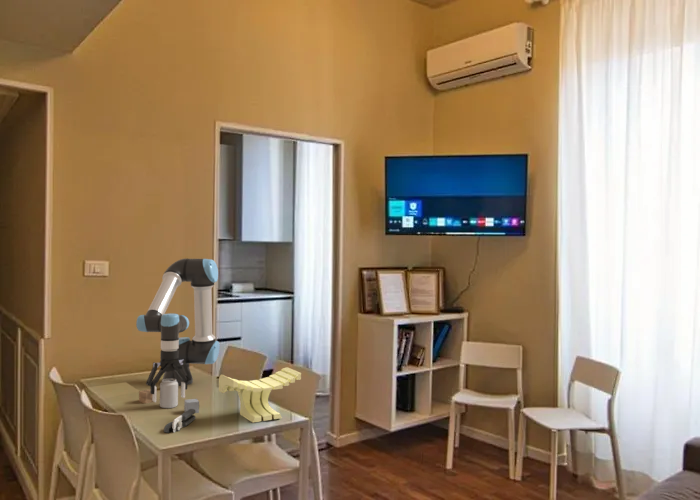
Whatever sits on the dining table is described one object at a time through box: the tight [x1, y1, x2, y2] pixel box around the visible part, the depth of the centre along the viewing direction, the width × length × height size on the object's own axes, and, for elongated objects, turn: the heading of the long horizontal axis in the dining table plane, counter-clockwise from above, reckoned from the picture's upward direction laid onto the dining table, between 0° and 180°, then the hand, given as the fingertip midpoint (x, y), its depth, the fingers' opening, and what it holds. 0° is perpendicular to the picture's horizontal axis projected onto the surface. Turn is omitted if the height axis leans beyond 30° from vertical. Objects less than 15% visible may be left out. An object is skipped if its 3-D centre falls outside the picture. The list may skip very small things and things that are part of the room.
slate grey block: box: [183, 398, 200, 414], centre depth 254 cm, size 5×5×5 cm
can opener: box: [163, 409, 197, 434], centre depth 235 cm, size 19×6×5 cm, turn 169°
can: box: [159, 378, 179, 409], centre depth 261 cm, size 8×8×12 cm
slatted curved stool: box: [218, 366, 302, 423], centre depth 251 cm, size 30×16×18 cm, turn 123°
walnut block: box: [138, 389, 155, 404], centre depth 268 cm, size 5×5×5 cm
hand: (168, 399), depth 261 cm, fingers open, 12 cm apart
